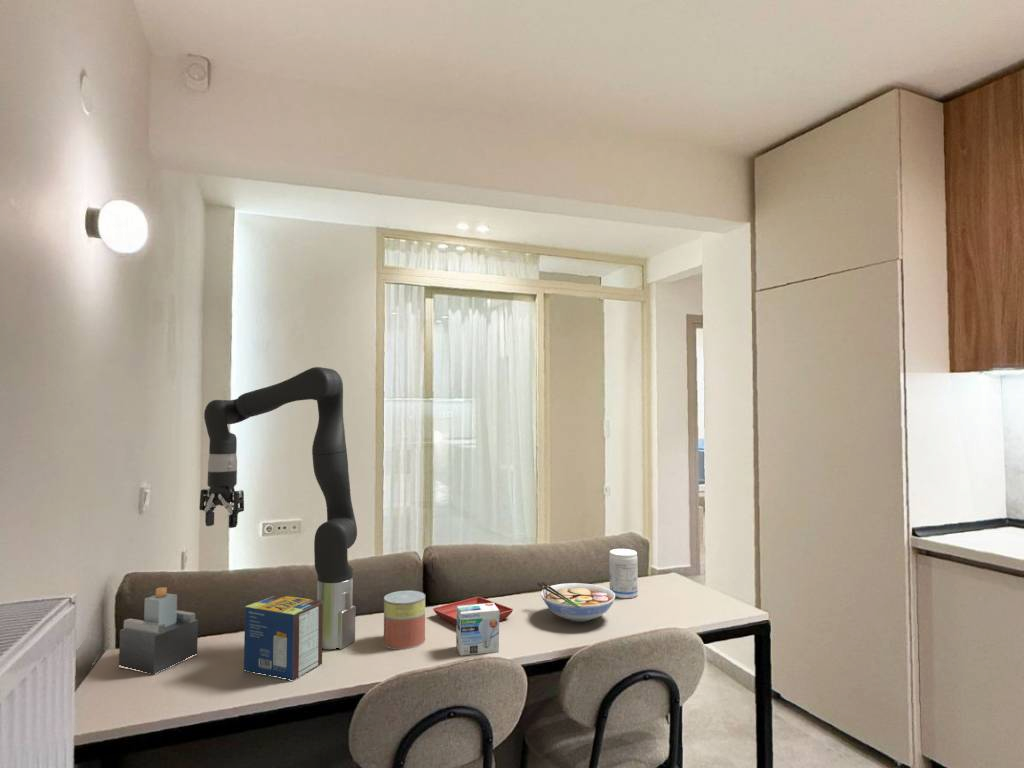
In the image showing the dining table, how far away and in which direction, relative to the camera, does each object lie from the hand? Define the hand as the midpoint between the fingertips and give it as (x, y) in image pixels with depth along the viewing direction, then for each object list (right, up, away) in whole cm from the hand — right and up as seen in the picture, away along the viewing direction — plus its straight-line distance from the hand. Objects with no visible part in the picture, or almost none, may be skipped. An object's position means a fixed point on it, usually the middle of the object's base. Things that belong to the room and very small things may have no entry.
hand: (221, 526), depth 165 cm
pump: (-6, -20, -19) cm, 28 cm away
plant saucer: (+71, -31, +11) cm, 78 cm away
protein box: (+27, -29, -24) cm, 46 cm away
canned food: (+54, -30, -7) cm, 62 cm away
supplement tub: (+121, -32, +34) cm, 130 cm away
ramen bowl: (+103, -31, +11) cm, 108 cm away
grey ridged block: (-6, -29, -20) cm, 36 cm away
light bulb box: (+74, -29, -13) cm, 81 cm away
